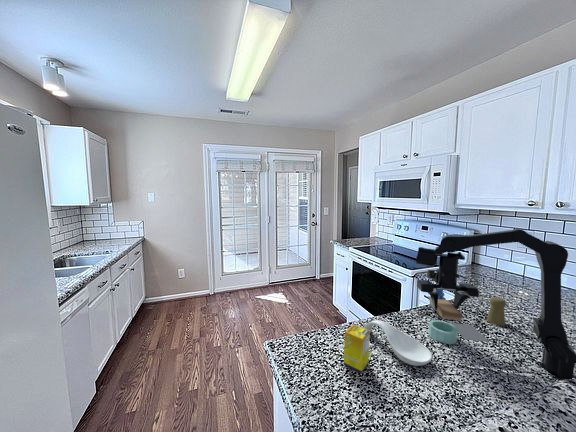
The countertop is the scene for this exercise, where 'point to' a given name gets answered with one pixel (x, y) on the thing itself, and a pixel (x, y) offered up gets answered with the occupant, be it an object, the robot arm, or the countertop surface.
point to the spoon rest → (403, 345)
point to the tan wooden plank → (447, 310)
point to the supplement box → (356, 348)
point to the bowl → (443, 331)
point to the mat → (469, 332)
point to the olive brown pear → (497, 311)
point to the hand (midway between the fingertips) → (444, 310)
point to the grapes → (440, 296)
